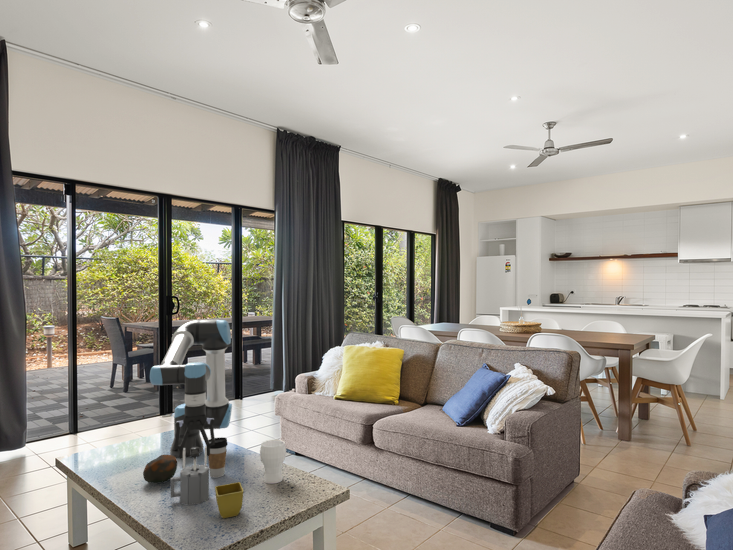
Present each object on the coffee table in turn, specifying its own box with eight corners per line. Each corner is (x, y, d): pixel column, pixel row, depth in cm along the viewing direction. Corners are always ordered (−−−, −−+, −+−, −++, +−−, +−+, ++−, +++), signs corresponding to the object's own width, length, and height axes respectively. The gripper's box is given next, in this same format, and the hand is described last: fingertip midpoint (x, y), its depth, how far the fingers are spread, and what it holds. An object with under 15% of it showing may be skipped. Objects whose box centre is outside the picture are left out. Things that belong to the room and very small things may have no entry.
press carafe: (171, 496, 177) (172, 467, 177) (209, 491, 181) (209, 463, 181) (169, 508, 167) (169, 477, 168) (208, 502, 171) (208, 472, 172)
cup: (254, 480, 191) (254, 443, 192) (276, 472, 199) (275, 437, 199) (270, 487, 184) (270, 449, 184) (291, 479, 192) (291, 442, 192)
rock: (150, 491, 182) (150, 465, 182) (138, 483, 189) (138, 458, 189) (183, 480, 192) (183, 455, 192) (170, 473, 199) (170, 449, 199)
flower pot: (217, 523, 156) (217, 495, 157) (214, 511, 164) (214, 485, 165) (243, 517, 160) (243, 491, 160) (240, 506, 168) (240, 481, 168)
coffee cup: (221, 479, 192) (221, 443, 193) (202, 478, 194) (202, 441, 194) (231, 471, 200) (231, 436, 201) (213, 470, 202) (213, 435, 203)
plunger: (186, 490, 177) (186, 446, 177) (204, 488, 179) (204, 444, 179) (185, 497, 171) (185, 452, 171) (203, 495, 173) (203, 450, 173)
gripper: (165, 408, 169) (165, 472, 168) (222, 404, 175) (222, 465, 174) (167, 404, 176) (167, 465, 176) (222, 399, 182) (222, 459, 182)
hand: (194, 465), depth 175 cm, fingers open, 7 cm apart
